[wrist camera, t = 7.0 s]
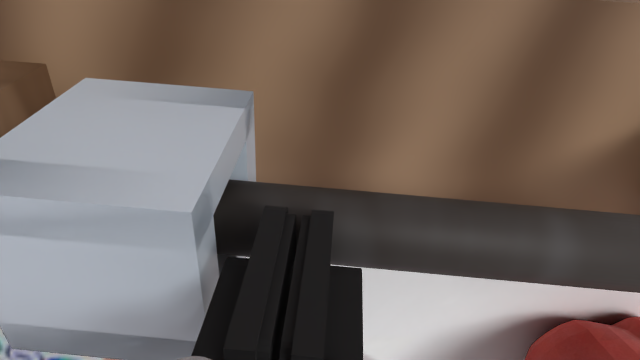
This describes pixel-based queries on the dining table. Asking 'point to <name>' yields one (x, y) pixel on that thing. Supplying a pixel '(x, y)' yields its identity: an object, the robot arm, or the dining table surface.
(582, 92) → the rod stand
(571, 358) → the vegetable
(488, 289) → the dining table surface
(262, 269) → the robot arm
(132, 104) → the sleeve
